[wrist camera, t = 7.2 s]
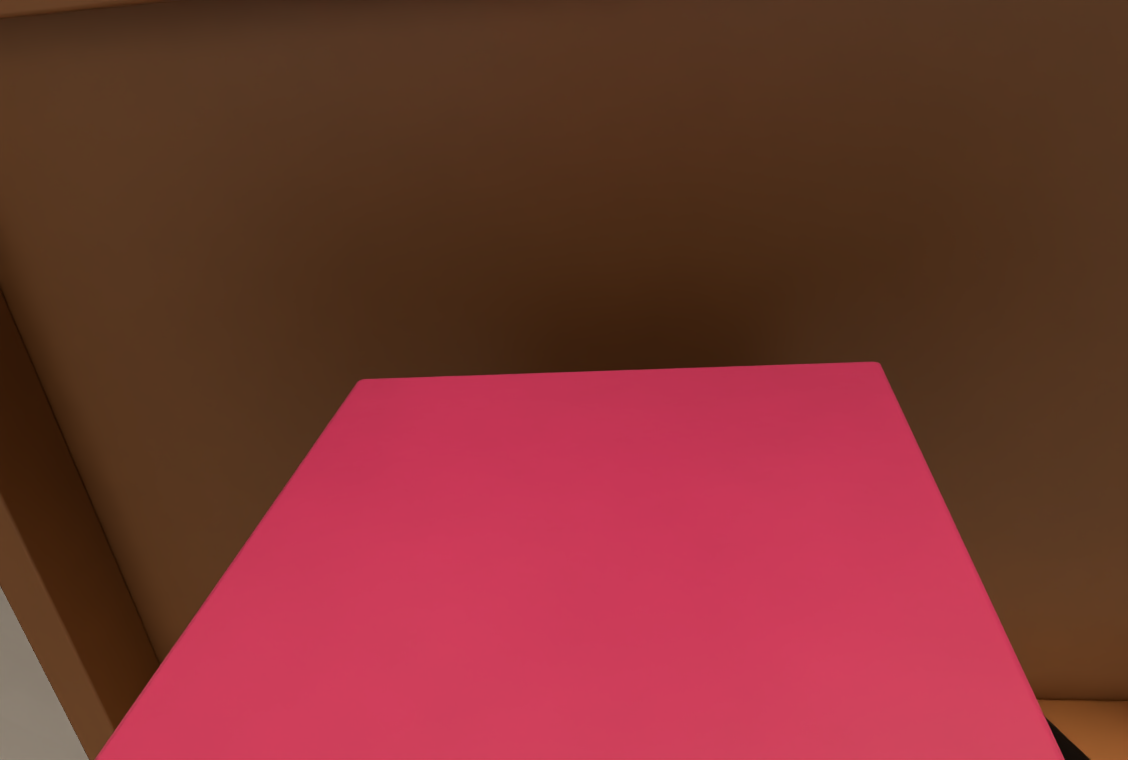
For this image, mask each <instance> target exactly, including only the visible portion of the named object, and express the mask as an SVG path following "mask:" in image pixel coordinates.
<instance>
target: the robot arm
mask: <svg viewBox="0 0 1128 760" xmlns="http://www.w3.org/2000/svg"><path fill="white" fill-rule="evenodd" d="M1045 718H1046V717H1045ZM1046 720H1047V723H1048V725H1049V727H1050V729H1051V731H1052V733H1053V735H1054V738H1055V740H1056V742H1057V744H1058V746H1059V748H1060V750H1061V753H1062V755H1063V757H1064V759H1065V760H1091V759H1089V758H1088V757H1087V756H1086V755H1085V754H1084V753H1083V752H1082V751H1081V750H1080V749H1079V748H1078V747H1077V746H1076V745H1075V744H1074V743H1073V742H1072V741H1070V740H1069V739H1068V738H1067V737H1066V736H1065V735H1064V734H1063V733H1062V732H1061V731H1060V730H1059V729H1058V728H1057V727H1056V726H1055V725H1054V724H1052V723H1051V722H1050V721H1049V720H1048V719H1047V718H1046Z"/></svg>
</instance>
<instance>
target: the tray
mask: <svg viewBox="0 0 1128 760" xmlns="http://www.w3.org/2000/svg"><path fill="white" fill-rule="evenodd" d="M847 362H878V363H880V364H881V366H882V369H883V371H884V373H885V375H886V377H887V379H888V381H889V384H890V386H891V388H892V390H893V392H894V394H895V396H896V399H897V401H898V403H899V405H900V407H901V409H902V411H903V414H904V416H905V418H906V420H907V422H908V424H909V426H910V429H911V431H912V433H913V435H914V437H915V439H916V441H917V444H918V446H919V448H920V450H921V452H922V454H923V457H924V459H925V461H926V463H927V465H928V467H929V469H930V472H931V474H932V476H933V478H934V480H935V482H936V484H937V487H938V489H939V491H940V493H941V495H942V497H943V499H944V502H945V504H946V506H947V508H948V510H949V512H950V514H951V517H952V519H953V521H954V523H955V525H956V527H957V529H958V532H959V534H960V536H961V538H962V540H963V542H964V544H965V547H966V549H967V551H968V553H969V555H970V557H971V560H972V562H973V564H974V566H975V568H976V570H977V572H978V575H979V577H980V579H981V581H982V583H983V585H984V587H985V590H986V592H987V594H988V596H989V598H990V600H991V602H992V605H993V607H994V609H995V611H996V613H997V615H998V617H999V620H1000V622H1001V624H1002V626H1003V628H1004V630H1005V632H1006V635H1007V637H1008V639H1009V641H1010V643H1011V645H1012V647H1013V650H1014V652H1015V654H1016V656H1017V658H1018V660H1019V662H1020V665H1021V667H1022V669H1023V671H1024V673H1025V675H1026V678H1027V680H1028V682H1029V684H1030V686H1031V688H1032V690H1033V693H1034V695H1035V697H1036V699H1037V701H1038V703H1039V705H1040V708H1041V710H1042V712H1043V714H1044V716H1045V717H1046V718H1047V719H1048V720H1049V721H1050V722H1051V723H1052V724H1054V725H1055V726H1056V727H1057V728H1058V729H1059V730H1060V731H1061V732H1062V733H1063V734H1064V735H1065V736H1066V737H1067V738H1068V739H1069V740H1070V741H1072V742H1073V743H1074V744H1075V745H1076V746H1077V747H1078V748H1079V749H1080V750H1081V751H1082V752H1083V753H1084V754H1085V755H1086V756H1087V757H1088V758H1089V759H1091V760H1128V0H0V586H1V588H2V590H3V592H4V594H5V596H6V598H7V600H8V602H9V604H10V606H11V607H12V609H13V611H14V613H15V615H16V617H17V619H18V621H19V623H20V625H21V627H22V629H23V631H24V633H25V635H26V637H27V639H28V641H29V643H30V645H31V647H32V649H33V651H34V652H35V654H36V656H37V658H38V660H39V662H40V664H41V666H42V668H43V670H44V672H45V674H46V676H47V678H48V680H49V682H50V684H51V686H52V688H53V690H54V692H55V694H56V695H57V697H58V699H59V701H60V703H61V705H62V707H63V709H64V711H65V713H66V715H67V717H68V719H69V721H70V723H71V725H72V727H73V729H74V731H75V733H76V735H77V737H78V739H79V740H80V742H81V744H82V746H83V748H84V750H85V752H86V754H87V756H88V758H89V760H94V759H95V758H96V757H97V755H98V754H99V752H100V751H101V749H102V748H103V747H104V745H105V744H106V742H107V741H108V739H109V738H110V736H111V735H112V734H113V732H114V731H115V729H116V728H117V726H118V725H119V724H120V722H121V721H122V719H123V718H124V716H125V715H126V714H127V712H128V711H129V709H130V708H131V706H132V705H133V703H134V702H135V701H136V699H137V698H138V696H139V695H140V693H141V692H142V691H143V689H144V688H145V686H146V685H147V683H148V682H149V680H150V679H151V678H152V676H153V675H154V673H155V672H156V670H157V669H158V668H159V666H160V665H161V663H162V662H163V660H164V659H165V657H166V656H167V655H168V653H169V652H170V650H171V649H172V647H173V646H174V645H175V643H176V642H177V640H178V639H179V637H180V636H181V635H182V633H183V632H184V630H185V629H186V627H187V626H188V624H189V623H190V622H191V620H192V619H193V617H194V616H195V614H196V613H197V612H198V610H199V609H200V607H201V606H202V604H203V603H204V601H205V600H206V599H207V597H208V596H209V594H210V593H211V591H212V590H213V589H214V587H215V586H216V584H217V583H218V581H219V580H220V578H221V577H222V576H223V574H224V573H225V571H226V570H227V568H228V567H229V566H230V564H231V563H232V561H233V560H234V558H235V557H236V555H237V554H238V553H239V551H240V550H241V548H242V547H243V545H244V544H245V543H246V541H247V540H248V538H249V537H250V535H251V534H252V533H253V531H254V530H255V528H256V527H257V525H258V524H259V522H260V521H261V520H262V518H263V517H264V515H265V514H266V512H267V511H268V510H269V508H270V507H271V505H272V504H273V502H274V501H275V499H276V498H277V497H278V495H279V494H280V492H281V491H282V489H283V488H284V487H285V485H286V484H287V482H288V481H289V479H290V478H291V476H292V475H293V474H294V472H295V471H296V469H297V468H298V466H299V465H300V464H301V462H302V461H303V459H304V458H305V456H306V455H307V454H308V452H309V451H310V449H311V448H312V446H313V445H314V443H315V442H316V441H317V439H318V438H319V436H320V435H321V433H322V432H323V431H324V429H325V428H326V426H327V425H328V423H329V422H330V420H331V419H332V418H333V416H334V415H335V413H336V412H337V410H338V409H339V408H340V406H341V405H342V403H343V402H344V400H345V399H346V397H347V396H348V395H349V393H350V392H351V390H352V389H353V387H354V386H355V385H356V383H357V382H358V381H360V380H362V379H383V378H412V377H441V376H470V375H499V374H528V373H557V372H586V371H615V370H644V369H673V368H702V367H731V366H760V365H789V364H818V363H847Z"/></svg>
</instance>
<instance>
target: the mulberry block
mask: <svg viewBox="0 0 1128 760" xmlns="http://www.w3.org/2000/svg"><path fill="white" fill-rule="evenodd" d="M94 760H1065V759H1064V757H1063V755H1062V753H1061V750H1060V748H1059V746H1058V744H1057V742H1056V740H1055V738H1054V735H1053V733H1052V731H1051V729H1050V727H1049V725H1048V723H1047V720H1046V718H1045V716H1044V714H1043V712H1042V710H1041V708H1040V705H1039V703H1038V701H1037V699H1036V697H1035V695H1034V693H1033V690H1032V688H1031V686H1030V684H1029V682H1028V680H1027V678H1026V675H1025V673H1024V671H1023V669H1022V667H1021V665H1020V662H1019V660H1018V658H1017V656H1016V654H1015V652H1014V650H1013V647H1012V645H1011V643H1010V641H1009V639H1008V637H1007V635H1006V632H1005V630H1004V628H1003V626H1002V624H1001V622H1000V620H999V617H998V615H997V613H996V611H995V609H994V607H993V605H992V602H991V600H990V598H989V596H988V594H987V592H986V590H985V587H984V585H983V583H982V581H981V579H980V577H979V575H978V572H977V570H976V568H975V566H974V564H973V562H972V560H971V557H970V555H969V553H968V551H967V549H966V547H965V544H964V542H963V540H962V538H961V536H960V534H959V532H958V529H957V527H956V525H955V523H954V521H953V519H952V517H951V514H950V512H949V510H948V508H947V506H946V504H945V502H944V499H943V497H942V495H941V493H940V491H939V489H938V487H937V484H936V482H935V480H934V478H933V476H932V474H931V472H930V469H929V467H928V465H927V463H926V461H925V459H924V457H923V454H922V452H921V450H920V448H919V446H918V444H917V441H916V439H915V437H914V435H913V433H912V431H911V429H910V426H909V424H908V422H907V420H906V418H905V416H904V414H903V411H902V409H901V407H900V405H899V403H898V401H897V399H896V396H895V394H894V392H893V390H892V388H891V386H890V384H889V381H888V379H887V377H886V375H885V373H884V371H883V369H882V366H881V364H880V363H878V362H847V363H818V364H789V365H760V366H731V367H702V368H673V369H644V370H615V371H586V372H557V373H528V374H499V375H470V376H441V377H412V378H383V379H362V380H360V381H358V382H357V383H356V385H355V386H354V387H353V389H352V390H351V392H350V393H349V395H348V396H347V397H346V399H345V400H344V402H343V403H342V405H341V406H340V408H339V409H338V410H337V412H336V413H335V415H334V416H333V418H332V419H331V420H330V422H329V423H328V425H327V426H326V428H325V429H324V431H323V432H322V433H321V435H320V436H319V438H318V439H317V441H316V442H315V443H314V445H313V446H312V448H311V449H310V451H309V452H308V454H307V455H306V456H305V458H304V459H303V461H302V462H301V464H300V465H299V466H298V468H297V469H296V471H295V472H294V474H293V475H292V476H291V478H290V479H289V481H288V482H287V484H286V485H285V487H284V488H283V489H282V491H281V492H280V494H279V495H278V497H277V498H276V499H275V501H274V502H273V504H272V505H271V507H270V508H269V510H268V511H267V512H266V514H265V515H264V517H263V518H262V520H261V521H260V522H259V524H258V525H257V527H256V528H255V530H254V531H253V533H252V534H251V535H250V537H249V538H248V540H247V541H246V543H245V544H244V545H243V547H242V548H241V550H240V551H239V553H238V554H237V555H236V557H235V558H234V560H233V561H232V563H231V564H230V566H229V567H228V568H227V570H226V571H225V573H224V574H223V576H222V577H221V578H220V580H219V581H218V583H217V584H216V586H215V587H214V589H213V590H212V591H211V593H210V594H209V596H208V597H207V599H206V600H205V601H204V603H203V604H202V606H201V607H200V609H199V610H198V612H197V613H196V614H195V616H194V617H193V619H192V620H191V622H190V623H189V624H188V626H187V627H186V629H185V630H184V632H183V633H182V635H181V636H180V637H179V639H178V640H177V642H176V643H175V645H174V646H173V647H172V649H171V650H170V652H169V653H168V655H167V656H166V657H165V659H164V660H163V662H162V663H161V665H160V666H159V668H158V669H157V670H156V672H155V673H154V675H153V676H152V678H151V679H150V680H149V682H148V683H147V685H146V686H145V688H144V689H143V691H142V692H141V693H140V695H139V696H138V698H137V699H136V701H135V702H134V703H133V705H132V706H131V708H130V709H129V711H128V712H127V714H126V715H125V716H124V718H123V719H122V721H121V722H120V724H119V725H118V726H117V728H116V729H115V731H114V732H113V734H112V735H111V736H110V738H109V739H108V741H107V742H106V744H105V745H104V747H103V748H102V749H101V751H100V752H99V754H98V755H97V757H96V758H95V759H94Z"/></svg>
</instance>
